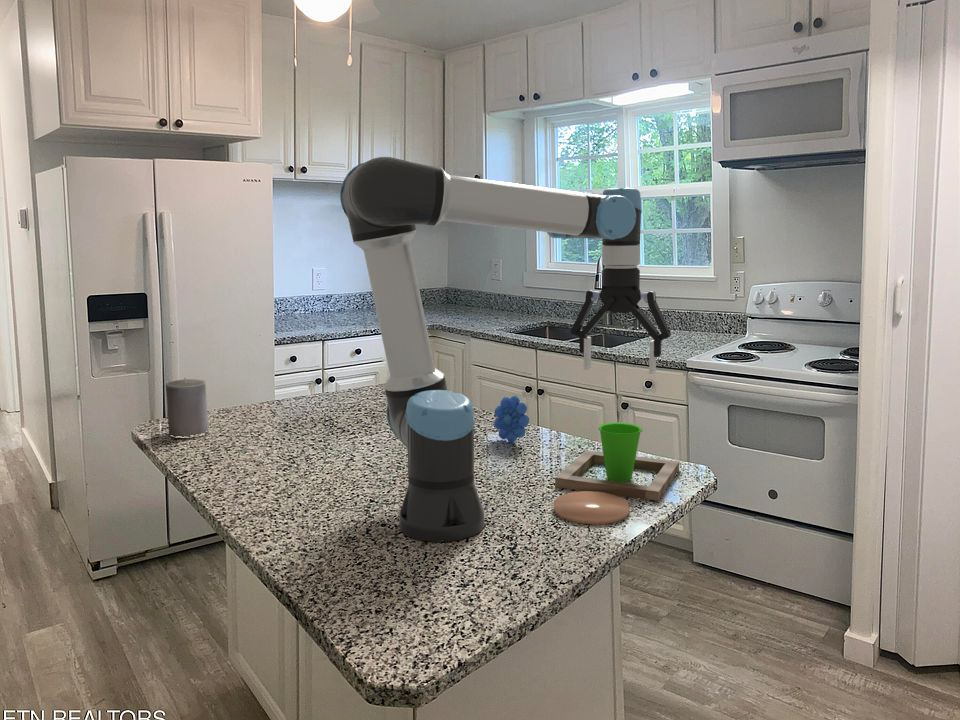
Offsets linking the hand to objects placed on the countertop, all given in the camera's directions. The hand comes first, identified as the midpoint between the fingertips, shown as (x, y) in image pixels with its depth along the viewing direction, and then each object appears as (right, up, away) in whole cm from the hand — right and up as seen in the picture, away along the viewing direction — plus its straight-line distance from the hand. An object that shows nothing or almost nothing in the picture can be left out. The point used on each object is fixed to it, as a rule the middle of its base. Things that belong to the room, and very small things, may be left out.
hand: (619, 370), depth 157 cm
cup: (+1, -23, +4) cm, 23 cm away
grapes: (-20, -18, +32) cm, 42 cm away
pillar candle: (-104, -17, +41) cm, 113 cm away
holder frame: (+1, -23, +4) cm, 23 cm away
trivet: (-8, -26, -14) cm, 31 cm away
